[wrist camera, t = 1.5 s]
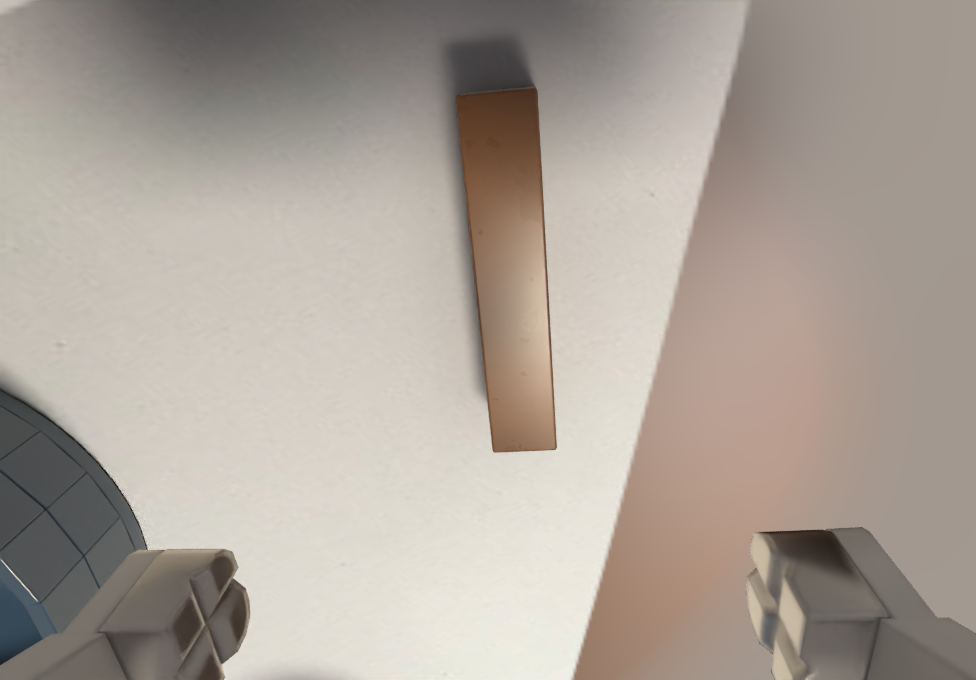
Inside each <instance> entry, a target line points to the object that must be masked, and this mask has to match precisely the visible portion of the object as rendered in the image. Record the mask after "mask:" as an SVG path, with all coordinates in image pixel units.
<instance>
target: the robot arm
mask: <svg viewBox="0 0 976 680" xmlns="http://www.w3.org/2000/svg"><path fill="white" fill-rule="evenodd" d="M750 554H751V557H752V559H753V561H754V563H755V565H756V568H755V569H754V570H753V571H752V572H751V573H750V574H749V575H748V577H747V590H746V595H747V603H748V611H749V616H750V619H751V623H752V627H753V629H754V632H755V634H756V637H757V639H758V642H759V644H761V645H762V646H763V647H764V648H765V649H767V650H768V651H769V652H770V653H772V654H773V659H772V667H771V673H772V675H773V677H774V680H976V633H974V632H973V631H971V630H969V629H968V628H966V627H964V626H962V625H961V624H959V623H957V622H955V621H954V620H952V619H950V618H937V617H936V616H935V614H934V613H933V612H932V611H931V609H930V608H929V607H928V606H927V604H926V603H925V602H924V600H923V599H922V598H921V597H920V595H919V594H918V593H917V591H916V590H915V589H914V588H913V586H912V585H911V584H910V582H909V581H908V580H907V579H906V577H905V576H904V575H903V574H902V572H901V571H900V570H899V568H898V567H897V566H896V565H895V563H894V562H893V561H892V559H891V558H890V557H889V556H888V554H887V553H886V552H885V551H884V549H883V548H882V547H881V546H880V544H879V543H878V542H877V540H876V539H875V538H874V537H873V535H872V534H871V533H870V532H869V531H868V530H866V529H864V528H862V527H858V528H838V529H826V530H801V531H780V532H779V531H776V532H755V534H754V536H753V538H752V541H751V548H750ZM237 569H238V565H237V562H236V560H235V557H234V555H233V552H232V551H229V550H226V549H167V550H138V551H136V552H134V553H131V554H129V555H128V556H127V557H126V558H125V559H124V561H123V562H122V563H121V564H120V565H119V566H118V568H117V569H116V570H115V571H114V572H113V573H112V575H111V576H110V577H109V578H108V579H107V581H106V582H105V583H104V584H103V585H102V586H101V588H100V589H99V590H98V591H97V592H96V593H95V595H94V596H93V597H92V598H91V599H90V600H89V602H88V603H87V604H86V605H85V606H84V607H83V609H82V610H81V611H80V612H79V613H78V615H77V616H76V617H75V618H74V619H73V620H72V622H71V623H70V624H69V625H68V626H67V627H66V629H65V630H64V631H63V632H62V633H61V634H51V635H49V636H47V637H46V638H44V639H42V640H41V641H39V642H37V643H36V644H34V645H33V646H31V647H29V648H28V649H26V650H24V651H23V652H21V653H20V654H18V655H16V656H15V657H13V658H11V659H10V660H8V661H6V662H5V663H3V664H2V665H0V680H224V678H225V676H224V671H223V667H222V664H223V663H224V662H225V661H227V660H228V659H229V658H230V657H232V656H233V655H234V654H235V653H236V652H238V650H239V648H240V646H241V644H242V642H243V640H244V638H245V636H246V633H247V628H248V623H249V618H250V604H249V598H248V595H247V592H246V588H244V587H243V586H242V585H241V584H239V583H238V582H237V581H236V580H235V579H233V577H234V575H235V573H236V571H237Z"/></svg>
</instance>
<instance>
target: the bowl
mask: <svg viewBox="0 0 976 680" xmlns="http://www.w3.org/2000/svg"><path fill="white" fill-rule="evenodd" d="M138 550H147V548H146V545H145V542H144V539H143V536H142V533H141V530H140V527H139V525H138V523H137V521H136V519H135V517H134V515H133V513H132V511H131V509H130V507H129V505H128V504H127V502H126V501H125V499H124V498H123V496H122V495H121V493H120V491H119V490H118V488H117V487H116V485H115V484H114V483H113V482H112V480H111V479H110V478H109V477H108V475H107V474H106V473H105V472H104V471H103V469H102V468H101V467H100V466H99V465H98V463H97V462H96V461H95V460H94V459H93V458H92V457H91V456H90V455H89V454H88V453H87V452H86V451H85V450H84V449H83V448H82V447H81V446H80V445H79V444H77V443H76V442H75V441H74V440H73V439H72V438H70V437H69V436H68V435H67V434H66V433H64V432H63V431H62V430H61V429H59V428H58V427H57V426H56V425H55V424H53V423H52V422H51V421H49V420H48V419H46V418H45V417H43V416H42V415H40V414H39V413H37V412H36V411H34V410H33V409H32V408H30V407H29V406H27V405H26V404H24V403H22V402H20V401H18V400H17V399H15V398H13V397H11V396H9V395H8V394H6V393H4V392H2V391H0V665H2V664H3V663H5V662H6V661H8V660H10V659H11V658H13V657H15V656H16V655H18V654H20V653H21V652H23V651H24V650H26V649H28V648H29V647H31V646H33V645H34V644H36V643H37V642H39V641H41V640H42V639H44V638H46V637H47V636H49V635H51V634H61V633H62V632H63V631H64V630H65V629H66V627H67V626H68V625H69V624H70V623H71V622H72V620H73V619H74V618H75V617H76V616H77V615H78V613H79V612H80V611H81V610H82V609H83V607H84V606H85V605H86V604H87V603H88V602H89V600H90V599H91V598H92V597H93V596H94V595H95V593H96V592H97V591H98V590H99V589H100V588H101V586H102V585H103V584H104V583H105V582H106V581H107V579H108V578H109V577H110V576H111V575H112V573H113V572H114V571H115V570H116V569H117V568H118V566H119V565H120V564H121V563H122V562H123V561H124V559H125V558H126V557H127V556H128V555H129V554H131V553H134V552H136V551H138Z"/></svg>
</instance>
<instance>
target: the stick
mask: <svg viewBox="0 0 976 680" xmlns="http://www.w3.org/2000/svg"><path fill="white" fill-rule="evenodd" d="M455 101H456V110H457V119H458V129H459V138H460V148H461V157H462V166H463V176H464V185H465V195H466V204H467V213H468V223H469V232H470V242H471V251H472V261H473V270H474V279H475V289H476V298H477V308H478V317H479V326H480V336H481V345H482V355H483V364H484V373H485V383H486V392H487V402H488V411H489V421H490V430H491V439H492V449H493V452H495V453H496V452H519V451H541V450H556V448H557V443H556V425H555V406H554V388H553V370H552V351H551V333H550V314H549V296H548V278H547V259H546V241H545V222H544V204H543V185H542V167H541V149H540V130H539V112H538V93H537V89H536V88H535V87H533V86H531V87H521V88H511V89H501V90H491V91H481V92H471V93H464V94H461V95H458V96H456V98H455Z"/></svg>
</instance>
